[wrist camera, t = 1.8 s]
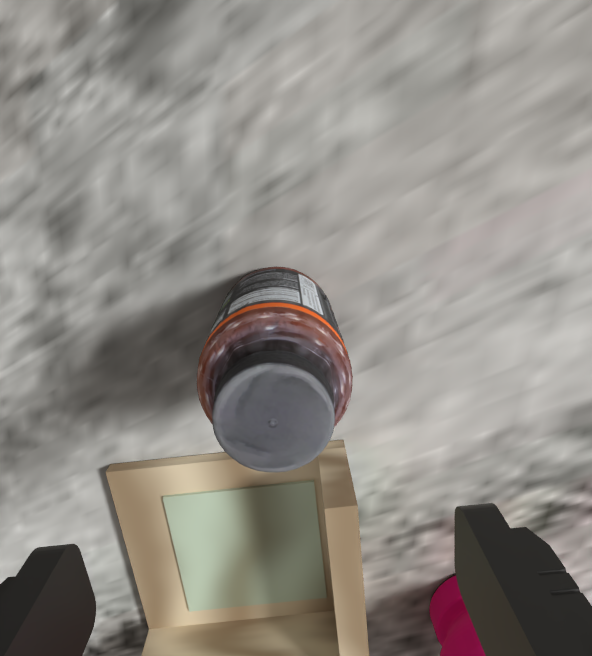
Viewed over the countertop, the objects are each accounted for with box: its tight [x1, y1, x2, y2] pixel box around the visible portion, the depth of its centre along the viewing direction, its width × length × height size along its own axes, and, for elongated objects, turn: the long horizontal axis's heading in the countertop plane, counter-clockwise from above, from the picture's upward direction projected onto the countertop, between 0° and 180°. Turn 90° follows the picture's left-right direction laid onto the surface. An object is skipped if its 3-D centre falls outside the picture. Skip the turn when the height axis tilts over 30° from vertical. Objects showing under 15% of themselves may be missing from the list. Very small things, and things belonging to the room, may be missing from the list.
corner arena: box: [106, 440, 369, 656], centre depth 28 cm, size 14×14×6 cm
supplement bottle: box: [197, 267, 353, 473], centre depth 21 cm, size 6×6×11 cm
